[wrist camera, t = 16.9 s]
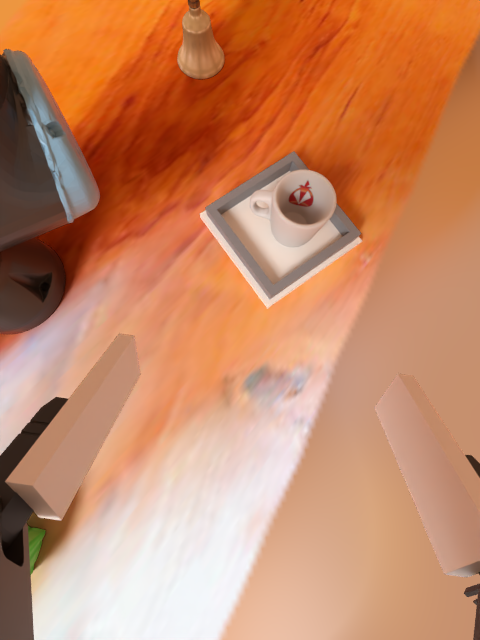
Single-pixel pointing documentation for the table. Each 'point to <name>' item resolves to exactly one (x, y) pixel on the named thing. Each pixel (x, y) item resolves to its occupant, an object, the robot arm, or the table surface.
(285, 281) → the gray rimmed square tray
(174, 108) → the table surface
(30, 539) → the fruit basket
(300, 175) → the cup
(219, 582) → the table surface
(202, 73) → the hand bell
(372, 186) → the table surface
